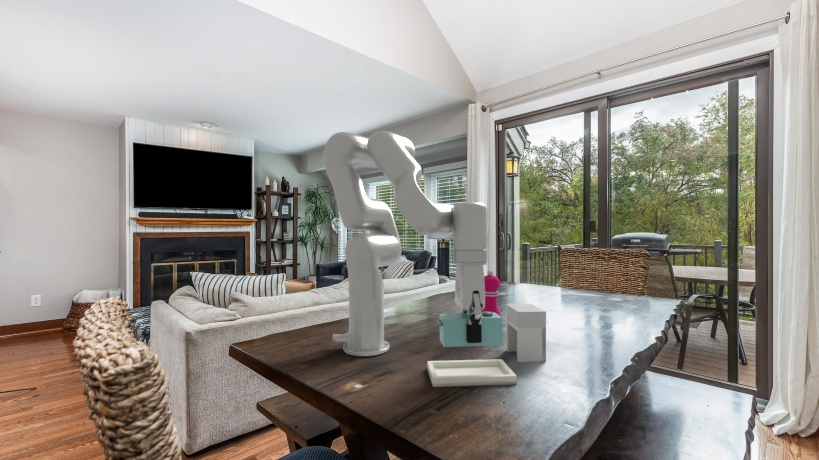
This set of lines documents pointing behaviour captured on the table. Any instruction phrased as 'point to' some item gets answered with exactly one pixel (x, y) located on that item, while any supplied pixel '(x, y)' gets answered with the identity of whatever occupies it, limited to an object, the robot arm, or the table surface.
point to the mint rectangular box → (456, 329)
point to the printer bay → (526, 332)
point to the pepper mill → (491, 292)
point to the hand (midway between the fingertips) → (470, 337)
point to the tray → (470, 373)
